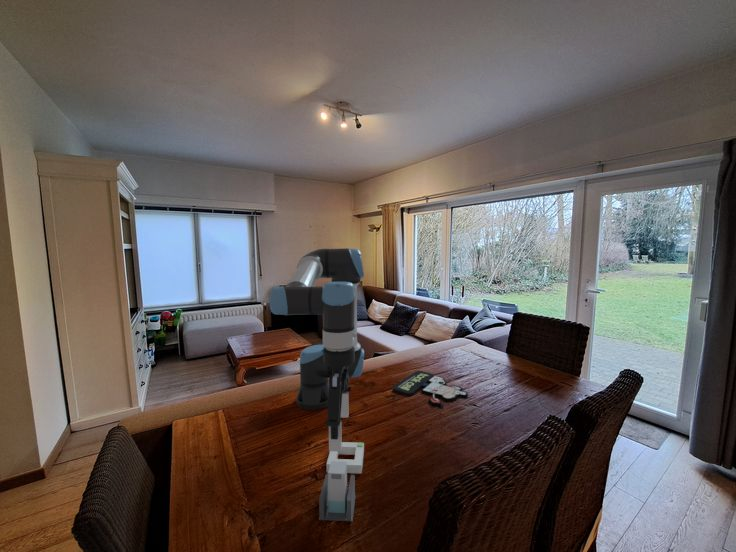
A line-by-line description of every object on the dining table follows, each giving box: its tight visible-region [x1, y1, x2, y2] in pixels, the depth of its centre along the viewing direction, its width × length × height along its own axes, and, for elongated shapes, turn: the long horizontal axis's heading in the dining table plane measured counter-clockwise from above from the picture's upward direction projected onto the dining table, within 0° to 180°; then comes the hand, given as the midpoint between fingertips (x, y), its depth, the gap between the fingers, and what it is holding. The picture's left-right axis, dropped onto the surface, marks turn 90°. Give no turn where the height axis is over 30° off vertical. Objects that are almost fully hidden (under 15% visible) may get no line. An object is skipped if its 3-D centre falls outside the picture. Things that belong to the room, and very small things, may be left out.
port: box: [326, 441, 365, 474], centre depth 89 cm, size 10×10×3 cm
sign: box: [392, 370, 469, 409], centre depth 136 cm, size 27×2×30 cm
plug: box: [327, 461, 348, 513], centre depth 73 cm, size 4×4×10 cm
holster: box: [318, 473, 357, 522], centre depth 73 cm, size 8×8×6 cm
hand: (339, 432), depth 72 cm, fingers open, 13 cm apart
